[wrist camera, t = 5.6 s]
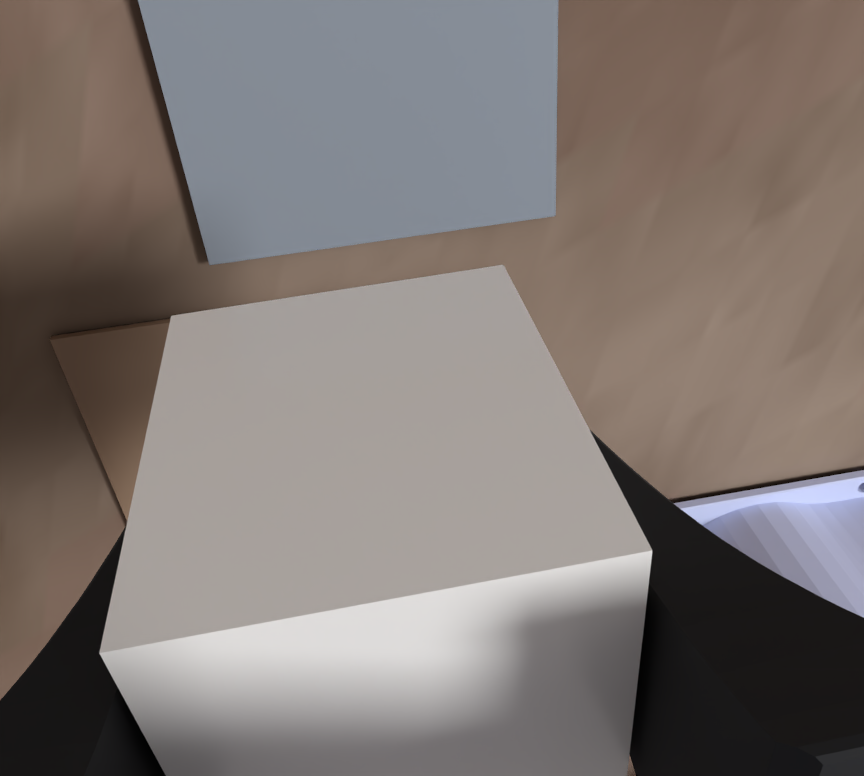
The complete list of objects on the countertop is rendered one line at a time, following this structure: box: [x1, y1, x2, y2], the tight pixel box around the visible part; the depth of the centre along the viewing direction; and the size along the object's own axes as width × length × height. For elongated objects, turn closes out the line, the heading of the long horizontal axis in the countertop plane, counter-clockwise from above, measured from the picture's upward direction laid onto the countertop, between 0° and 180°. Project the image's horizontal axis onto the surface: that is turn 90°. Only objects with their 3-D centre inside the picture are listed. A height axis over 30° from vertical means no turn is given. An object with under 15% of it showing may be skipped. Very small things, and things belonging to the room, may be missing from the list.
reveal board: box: [50, 319, 170, 521], centre depth 25 cm, size 12×12×1 cm
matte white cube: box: [99, 265, 652, 776], centre depth 12 cm, size 6×6×6 cm
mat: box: [138, 0, 558, 265], centre depth 18 cm, size 9×9×1 cm
